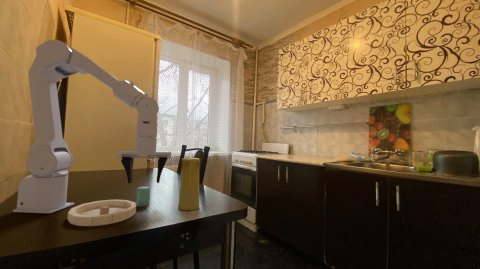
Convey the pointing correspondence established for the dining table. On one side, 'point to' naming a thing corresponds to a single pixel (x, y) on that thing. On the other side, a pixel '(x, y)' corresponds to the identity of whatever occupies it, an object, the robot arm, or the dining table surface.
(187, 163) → the vase
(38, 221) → the dining table surface
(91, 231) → the dining table surface
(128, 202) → the ring tray
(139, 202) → the teal green block
